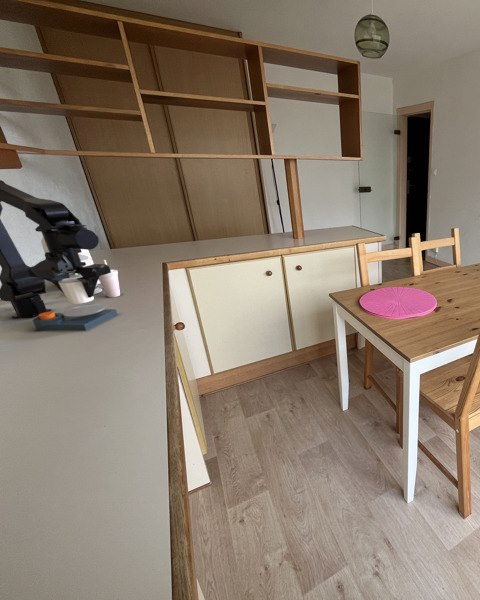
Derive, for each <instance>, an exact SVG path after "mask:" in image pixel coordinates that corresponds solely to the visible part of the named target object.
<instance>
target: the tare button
mask: <svg viewBox="0 0 480 600" xmlns="http://www.w3.org/2000/svg"><path fill="white" fill-rule="evenodd" d="M55 313H56V312H54V311H49V312H45V313H41V314H39V315H38V316H37V317H39V318H40V320H46V319H51V318H54V317H56V316H55Z"/></svg>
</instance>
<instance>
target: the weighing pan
mask: <svg viewBox="0 0 480 600" xmlns="http://www.w3.org/2000/svg"><path fill="white" fill-rule="evenodd" d="M104 309H107V304H104V303H90V304H84V305H79V306H75V307H72V308H69V309H67V310H64V311H63V312H62V313H63V316H65V317H80V316H86V315H91V314H95V313H98V312H100V311H103V310H104Z"/></svg>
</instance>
